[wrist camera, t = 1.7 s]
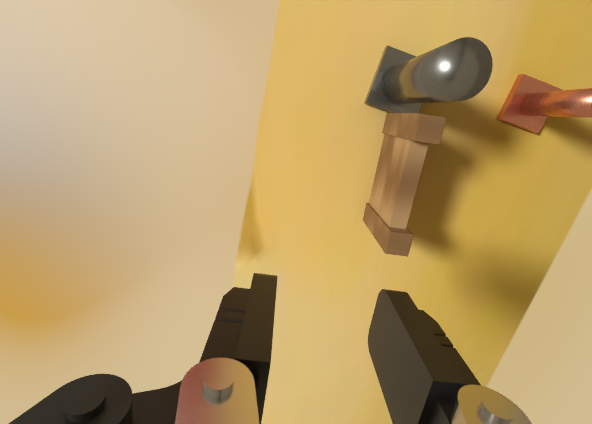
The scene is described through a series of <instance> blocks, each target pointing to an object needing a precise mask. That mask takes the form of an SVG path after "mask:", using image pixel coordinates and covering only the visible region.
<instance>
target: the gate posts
mask: <svg viewBox="0 0 592 424" xmlns="http://www.w3.org/2000/svg"><path fill="white" fill-rule="evenodd" d="M491 72H492V57H491V53H490V51H489V49H488V48H487V46H486V45H485V44H484V43H483V42H481V41H480V40H478V39H475V38H470V37H465V38H460V39H457V40H455V41H452V42H450V43H448V44H445V45H443V46H441V47H438V48H436V49H434V50H431V51H429V52H427V53H424V54H422V55H420V56H417V57H416V56H413V55H411V54H408V53H405V52H403V51H400V50H398V49H395V48H393V47H390V46H386V47H385V50H384V52H383V55H382V58H381V60H380V63H379V66H378V68H377V71H376V74H375V76H374V79H373V81H372V84H371V87H370V89H369V92H368V95H367V97H366V100H365V104H368V105H371V106H374V107H376V108H379V109H382V110H385V111H387V112H390V113H419V111H420V109H421V106H422V104H423V103H432V102H448V101H462V100H467V99H470V98H472V97H474V96H475V95H477V94H478V93H479V92H480V91H481V90H482V89H483V88H484V87H485V85H486V84H487V82H488V80H489V78H490V76H491ZM548 116H552V117H592V88H590V89H577V90H563V91H562V89H560V88H557V87H555V86H552V85H550V84H547V83H545V82H542V81H540V80H537V79H535V78H532V77H529V76H527V75H524V74H522V75H518V77H517V79H516V81H515V83H514V85H513V87H512V89H511V91H510V93H509V95H508V97H507V99H506V101H505V103H504V105H503V107H502V109H501V111H500V113H499V115H498V117H497V119H498V120H501V121H504V122H506V123H509V124H512V125H514V126H517V127H520V128H522V129H525V130H528V131H530V132H533V133H539V132H540V130H541V128H542V126H543V125H544V123H545V121H546V119H547V117H548Z"/></svg>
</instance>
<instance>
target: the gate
mask: <svg viewBox="0 0 592 424" xmlns="http://www.w3.org/2000/svg"><path fill="white" fill-rule="evenodd" d="M446 119H447V118H446V117H440V116H433V115H427V114H420V113H387V115H386V119H385V124H384V128H383V133H384V134H385V135H384V139H383V143H382V148H381V152H380V157H379V161H378V165H377V170H376V174H375V179H374V183H373V187H372V192H371V196H370V201H369V203H367V204H366V208H365V213H364V217H363V221H364V222H365V224H366V225H367V227H368V228H369V230H370V231H371V233H372V234H373V236H374V237H375V239H376V240H377V242H378V243H379V245H380V246H381V248H382V249H383V251H384V252H385V254H393V255H400V256H408V254H409V251H410V247H411V244H412V240H413V237H414V234H413V233H412V232H411V231H410V230H409V229H408V228H407V223H408V220H409V216H410V212H411V209H412V205H413V201H414V197H415V194H416V190H417V186H418V183H419V179H420V175H421V172H422V168H423V164H424V160H425V157H426V153H427V149H428V146H429V143H432V144H440V140H441V137H442V133H443V130H444V126H445V122H446Z"/></svg>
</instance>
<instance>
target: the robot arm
mask: <svg viewBox="0 0 592 424" xmlns="http://www.w3.org/2000/svg"><path fill="white" fill-rule="evenodd" d="M276 286H277V276H274V275H266V274H258V273H254V275H253V279H252V284H251V288H250V289H245V288H237V287H234V288H232V289H231V290H230V291H229V292H228V293H227V294H225V295H224V296H223V299H222V301H221V304H220V307H219V310H218V312H217V315H216V319H215V321H214V323H213V326H212V329H211V332H210V335H209V337H208V340H207V343H206V346H205V348H204V351H203V354H202V357H201V359H200V362H199V363H198V364H196V365H195V366H194V367H192V368H191V369H190V370H189V371H188V372H187V373H186V375H185V376H184V378H183V380H182V381H180V382H178V383H176V384H174V385H172V386H169V387H166V388H161V389H157V390H151V391H145V392H140V393H134V394H132V390H131V388H130V386H129V384H128V383H127V382H126V381H125V380H124V379H122V378H120V377H118V376H115V375H110V374H95V375H89V376H85V377H82V378H79V379H76V380H74V381H71V382H69V383H67V384H65V385H64V386H62V387H60V388H59V389H57V390H56V391H54V392H53V393H51V394H50V395H49V396H47V397H46V398H44V399H43V400H42V401H40V402H39V403H37V404H36V405H35V406H33V407H32V408H30V409H29V410H27V411H26V412H25V413H23V414H22V415H20V416H19V417H18V418H16V419H15V420H13V421H12V422H10V423H9V424H261V420H262V414H263V408H264V401H265V395H266V388H267V382H268V375H269V369H270V362H271V350H272V337H273V324H274V312H275V299H276ZM368 347H369V352H370V355H371V358H372V361H373V365H374V368H375V371H376V374H377V377H378V380H379V383H380V386H381V389H382V392H383V395H384V398H385V401H386V404H387V407H388V410H389V413H390V416H391V419H392V422H393V424H532V423H531V422H530V420H529V419H528V417H527V416H526V415H525V413H524V412H523V411H522V410H521V409H520V408H519V407H518V406H517V405H516V404H514V403H513V402H512V401H511V400H509V399H508V398H506V397H505V396H503V395H502V394H500V393H498V392H496V391H494V390H492V389H490V388H487V387H484V386H481V385H480V383H479V382H478V380H477V379H476V378H475V376H474V375H473V373H472V372H471V370H470V369H469V367H468V366H467V365H466V363H465V362H464V360H463V359H462V357H461V356H460V354H459V353H458V352H457V350H456V349H455V348H453V344H452V343H451V342H450V340H449V339H448V337H446V334H445V333H444V331H443V330H442V329H441V327H440V326H439V324H438V323H437V322H436V321H435V320H434V319H433V318H432V317H430V316H429V315H428V314H427V313H425V312H424V311H423V310H418V308H417V307H416V305H415V304H414V302H413V301H412V299H411V298H410V296H409V294H408V293H406V292H401V291H393V290H385V289H382V290H381V291H380V293H379V295H378V298H377V302H376V306H375V310H374V314H373V318H372V321H371V325H370V329H369V334H368Z"/></svg>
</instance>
